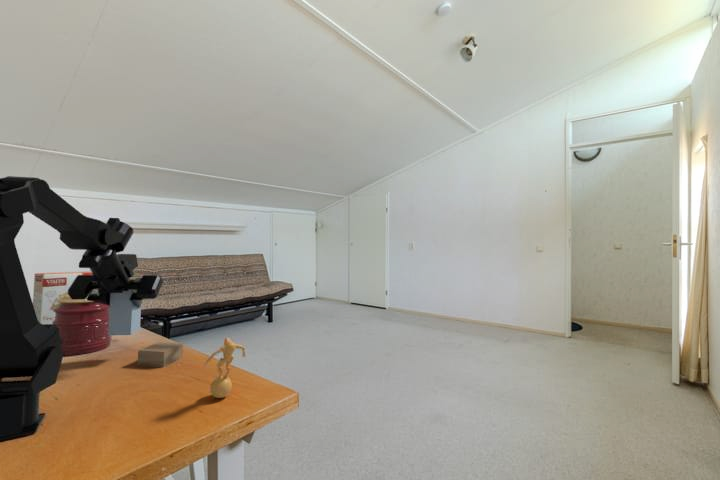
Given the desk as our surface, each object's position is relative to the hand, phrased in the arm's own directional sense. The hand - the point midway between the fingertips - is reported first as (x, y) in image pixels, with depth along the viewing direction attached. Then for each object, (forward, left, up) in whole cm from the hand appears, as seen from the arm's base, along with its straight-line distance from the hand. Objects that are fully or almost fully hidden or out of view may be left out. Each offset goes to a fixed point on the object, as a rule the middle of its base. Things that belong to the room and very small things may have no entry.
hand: (128, 306), depth 85 cm
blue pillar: (-1, +1, -7) cm, 7 cm away
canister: (+15, +11, -14) cm, 23 cm away
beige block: (-8, -7, -14) cm, 18 cm away
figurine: (-38, -16, -14) cm, 43 cm away
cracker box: (+30, +17, -14) cm, 37 cm away
